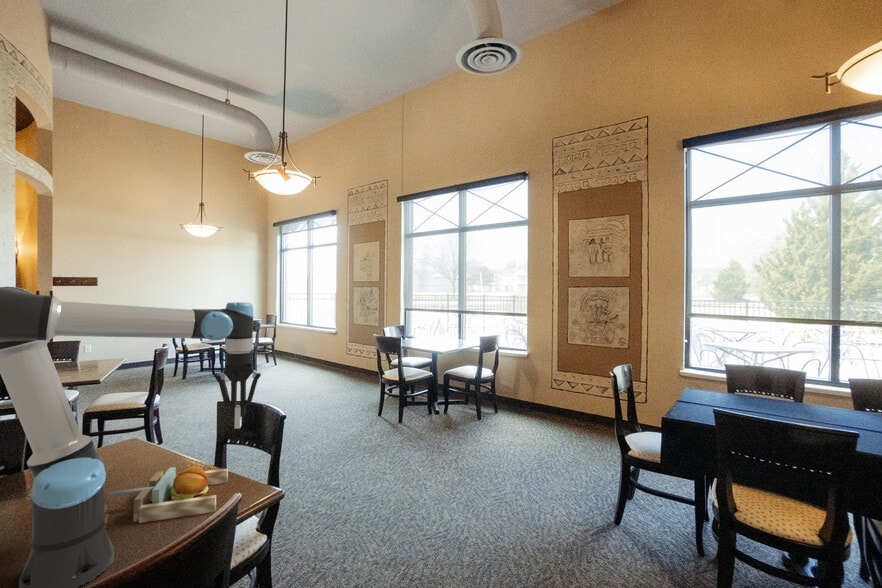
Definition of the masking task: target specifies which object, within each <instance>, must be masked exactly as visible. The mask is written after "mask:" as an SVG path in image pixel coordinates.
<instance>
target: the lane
mask: <svg viewBox="0 0 882 588" xmlns="http://www.w3.org/2000/svg"><path fill="white" fill-rule="evenodd" d="M204 471H205V472H206V474H207V476H208V477H209V478H208V485H207V486H213V485H220V484H227V483H228V480H229V469H228V468H221V469H212V470H204ZM177 475H178V474H176V476H177ZM163 476H164V471H162V470H160V471H156V473H155V474H154V475H153V476H152V477H151V478H150V480H149V484H148V485H149V486H148V487H154V486H156V485H157V484H158V482H159V481H160V480H161V478H162V477H163ZM145 488H146V487H145ZM150 502H152V492H150V488H146V489H143V490H142V491H141V492H140V493H139V494H137V496H136V497H135V498H134V499H133V523H135V522H138V523H139V524H143V523H148V522H155V521H162V520H169V519H175V518H183V517H189V516H195V515H202V514H207V513H208V514H210V513H214V512H216V510H217V494H214V495H213V494H212V495H206V496H205V495H204V496H203V497H198V498H191V499H183V500H176V501H171V500H168V501H167V502H161V503H154V504H152V503H150Z"/></svg>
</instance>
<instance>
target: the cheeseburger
mask: <svg viewBox="0 0 882 588" xmlns="http://www.w3.org/2000/svg"><path fill="white" fill-rule="evenodd" d="M205 471H206V470H204V469H203V468H202V467H200V466H196V465H195V466H194V465H193V466H191V467H188V468H186V469H183V470H182V471H180V472H179V473H177V474H176V475H177V476H176V477H175V479H174V482H173V486H171V488H170V493H171V495H170V501H176V500H183V499H191V498H198V497H205V495H206V494H207V493H208V491H209V485H208V478H209V477H208V476H207V474H206V472H205Z"/></svg>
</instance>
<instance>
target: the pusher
mask: <svg viewBox="0 0 882 588" xmlns="http://www.w3.org/2000/svg"><path fill="white" fill-rule="evenodd" d="M176 470H177V469H176V467H175V466H173V467H169V468H168V469H167V470H166V471H165V473H163V477H162V478H161V480H160V481H159V482H158V484H157V485H156V486H154V487H149V486H148V487H147V486H146V487H138V488H132V489H131V488H130V489H123V490H116V491H114V490H113V491H110V492H109V498H114V497H115V498H116V497H123V496H132V495H138V494H139V493H140V492H141V491H142V490H143V489H146V488H150V492H152V501H151V502H152V503H151V504H154V503H161V502H169V501H170V499H171V497H170V495H171V493H170V488H171V486H173V482H174V479H175V477H176V475H177V474H176V472H177V471H176Z"/></svg>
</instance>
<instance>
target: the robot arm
mask: <svg viewBox="0 0 882 588" xmlns="http://www.w3.org/2000/svg"><path fill="white" fill-rule="evenodd" d="M254 318H255V316H254V308H253V304H252V303H251V302H245V301H243V302H240V301H239V302H235V301H234V302H227V303H226V305H225V308H221V309H218V308H217V309H214V308H211V309H208V308H203V309H202V308H200V309H198V308H197V309H196V308H192V309H184V308H169V307H156V306H155V307H153V306H140V305H139V306H138V305H136V306H135V305H122V304H109V303H108V304H106V303H94V302H93V303H92V302H79V301H78V302H77V301H75V302H74V301H64V300H63V301H62V300H60V298H58V297H56V296H55V295H54V296H53V295H43V294H35V293H33V292H31V291H30V290H26V289H24V288H21V287H16V286H0V376H1V379H2V380H3V384H4V385H5V388H6V391H7V393H8V395H9V398H10V401H11V402H12V405H13V408H14V410H15V413H16V414H17V417H18V419H19V422H20V425H21V426H22V429H23V432H24V434H25V437H26V439H27V442H28V444H29V446H30V449H31V452H32V454H31V456H30V457H29V458H28V460H27V461H26V464H27V468H28V469H29V471H30V474H31V477H32V478H33V482H32V487H31V489H30V497H31V499H32V500H31V505H32V509H31V511H32V512H31V551H30V553H29V556H28V558H27V561H26V563H25V566H24V568H23V570H22V573H21V575H20V578H19V581H18V583H19V584H18V588H77V587H79V586H81V585H83V584H84V583H86V582H89V583H90V582H92V581H94V580H96V579H97V578H96V576H98V575H99V574H101V573H102V572H104V571H105V570H106V569H107V568H108V567H109V566H110V565H112V564H113V562H114V559H115V548H114V545H113V542H112V541H111V539H110V537H109V534H108V532H107V531H106V528H105V510H106V509H105V507H106V506H105V497H106V496H105V492H106V489H105V488H106V483H105V482H106V479H107V472H106V466H105V467H104V465H105V464H104V463H103V462H104V461H103V459H102V457H101V455H100V454H99V453H98V451H97V449H96V447H95V445H94V442H93V439H92V437H91V436H90V435H86V434H82V433H81V431H80V429H79V426H78V423H77V421H76V417H75V415H74V413H73V410H72V407H71V404H70V402H69V400H68V397H67V395H66V392H65V390H64V387H63V384H62V382H61V379H60V376H59V373H58V371H57V369H56V366H55V363H54V361H53V358H52V355H51V353H50V350H49V348H48V347H49V346H48V343H49V342H50V341H51V339H54V338H55V337H95V338H98V337H103V338H104V337H108V338H149V339H150V338H154V339H155V338H157V339H163V338H164V339H192V340H193V339H196V340H197V339H199V340H209V341H222V340H224V339H225V352H226V353H225V358H224V359H225V365H224V369H223V370H222V372H221V373H217V374H216V376H215V377H214V378H215V380H216V382H217V383H218V386H219V389H220V393H221V397H222V401H223V404H224V406H226V407H227V406H228V407H230V417H231V418H234V429H236V430H237V429H241V427H242V418H243V417H245V415H246V406H247V405H250V404H251V403H252V401H253V398H254V395H255V391H256V387H257V384H258V380H259V378H260V377H261V376H262V372H259V371H256V370H255V367H254V364H253V356H254V355H253V354H254V353H253V352H252V350H254V349H253V346H254V345H253V343H254V342H253V341H254V334H253V331H254ZM251 375H252V378H253V379H252V381H251V385H250V389H249V392H248V396H247V380H248V379H249V378H250V377H251ZM226 378H227V379H228V380H229V381H230V394H229V390H228V387H227V383H226V380H225V379H226ZM238 382H239V386H240V388H239V389H240V393H239V395H240V396H239V397H240V398H239V399H240V401H239V404H237V403H238V399H237V398H238ZM103 464H104V465H103ZM110 567H111V566H110ZM110 567H109V568H110ZM109 568H108V569H109ZM108 569H107V570H108ZM107 570H106V571H107ZM106 571H105V572H106ZM105 572H104V573H105ZM101 575H102V574H101ZM95 578H96V579H95ZM83 586H84V585H83ZM81 587H82V586H81ZM79 588H80V587H79Z"/></svg>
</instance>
